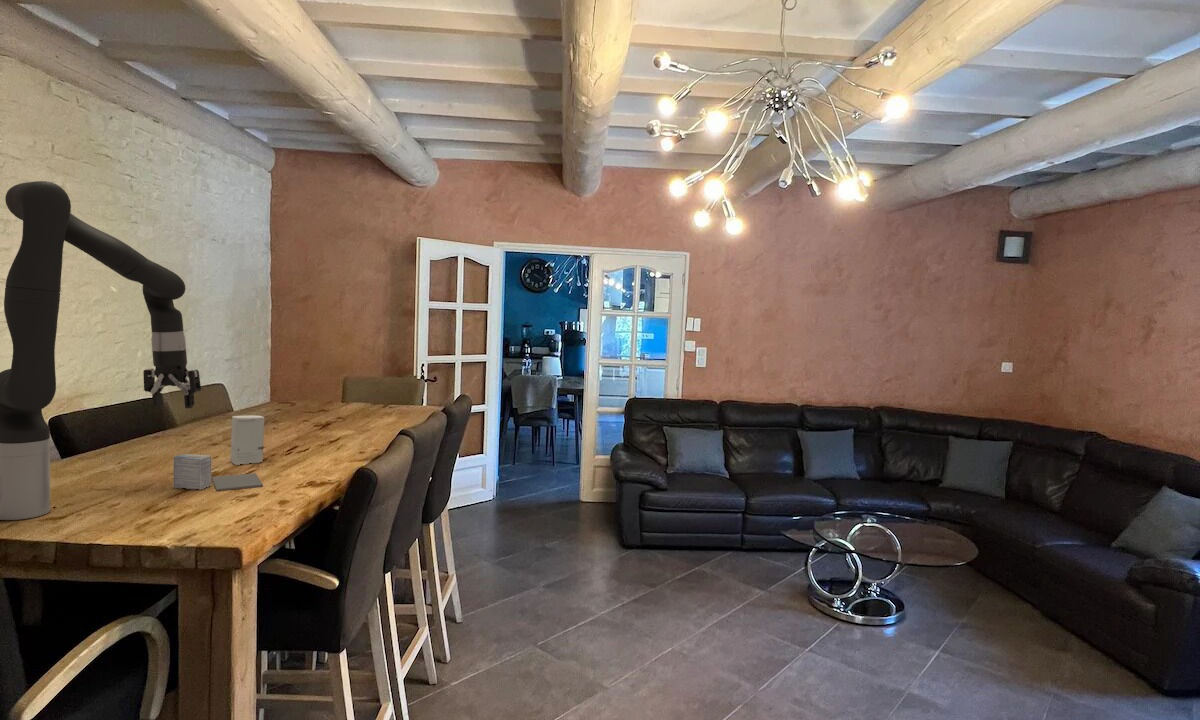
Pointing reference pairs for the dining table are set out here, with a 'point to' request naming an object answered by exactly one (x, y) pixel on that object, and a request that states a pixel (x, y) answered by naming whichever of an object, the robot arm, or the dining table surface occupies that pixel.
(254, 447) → the skincare box
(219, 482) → the rubber mat
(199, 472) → the medicine box
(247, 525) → the dining table surface
